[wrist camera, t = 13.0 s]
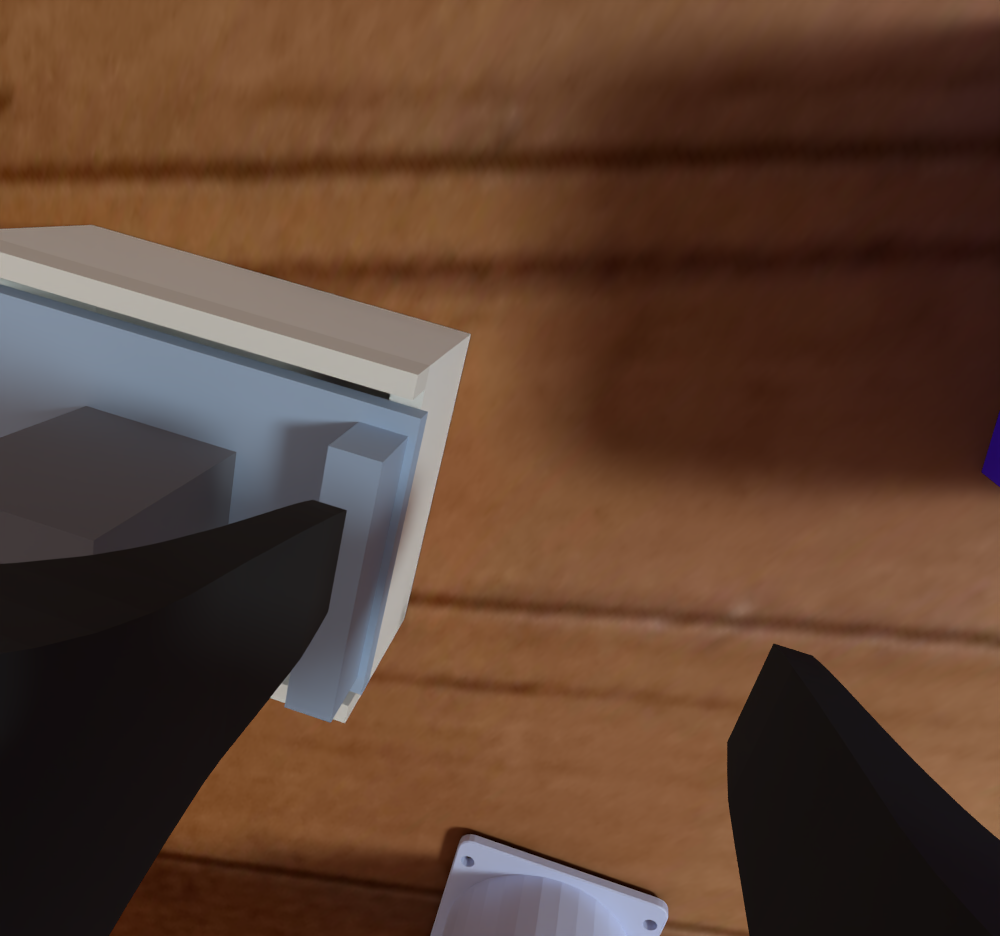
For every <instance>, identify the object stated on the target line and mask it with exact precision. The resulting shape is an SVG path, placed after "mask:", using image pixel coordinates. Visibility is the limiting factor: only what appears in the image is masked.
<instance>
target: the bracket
mask: <svg viewBox="0 0 1000 936" xmlns="http://www.w3.org/2000/svg"><path fill="white" fill-rule="evenodd" d="M982 473H983V474H984V475H985V476H987V477H988V478H989V479H990V480H992V481H993V482H994V483H995V484H997V485H998V486H999V487H1000V412H999V415H998V418H997V422H996V425H995V428H994V432H993V435H992V438H991V442H990V445H989V448H988V452H987V455H986V458H985V462H984V465H983V468H982Z"/></svg>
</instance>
